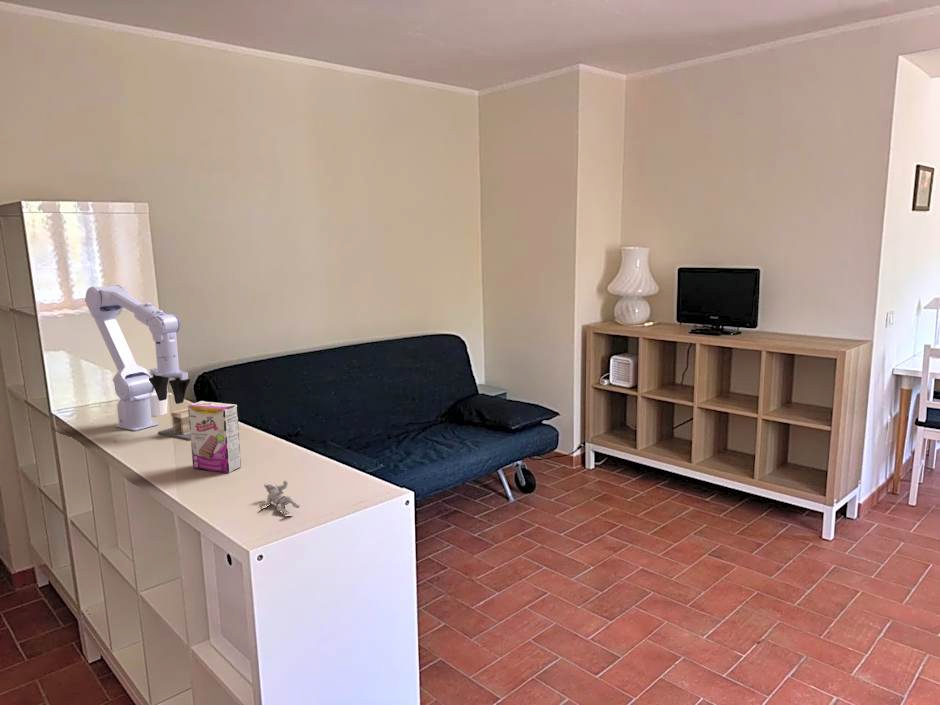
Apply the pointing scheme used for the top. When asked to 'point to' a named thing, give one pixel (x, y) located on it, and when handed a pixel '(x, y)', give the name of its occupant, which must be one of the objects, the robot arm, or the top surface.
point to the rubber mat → (175, 434)
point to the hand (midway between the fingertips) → (171, 401)
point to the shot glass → (157, 405)
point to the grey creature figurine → (279, 497)
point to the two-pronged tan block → (181, 421)
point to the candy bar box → (214, 436)
